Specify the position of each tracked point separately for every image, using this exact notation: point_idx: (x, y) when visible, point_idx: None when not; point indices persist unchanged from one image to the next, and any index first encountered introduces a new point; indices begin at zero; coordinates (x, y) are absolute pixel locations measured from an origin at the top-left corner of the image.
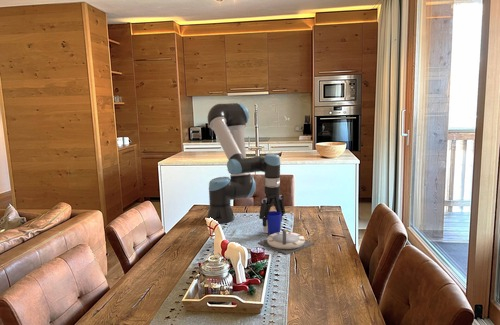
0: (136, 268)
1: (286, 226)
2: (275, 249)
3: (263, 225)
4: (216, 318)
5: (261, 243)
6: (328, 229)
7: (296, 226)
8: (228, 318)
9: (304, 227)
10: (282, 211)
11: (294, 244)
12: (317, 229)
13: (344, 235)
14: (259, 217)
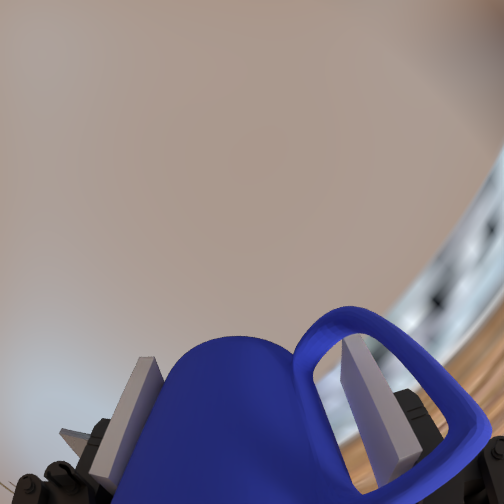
0: None
1: (462, 294)
2: None
3: (102, 433)
4: (3, 486)
5: (73, 450)
6: (498, 421)
7: (492, 331)
8: None
9: (492, 368)
10: (483, 486)
11: None
12: (485, 413)
13: None
14: (21, 487)
